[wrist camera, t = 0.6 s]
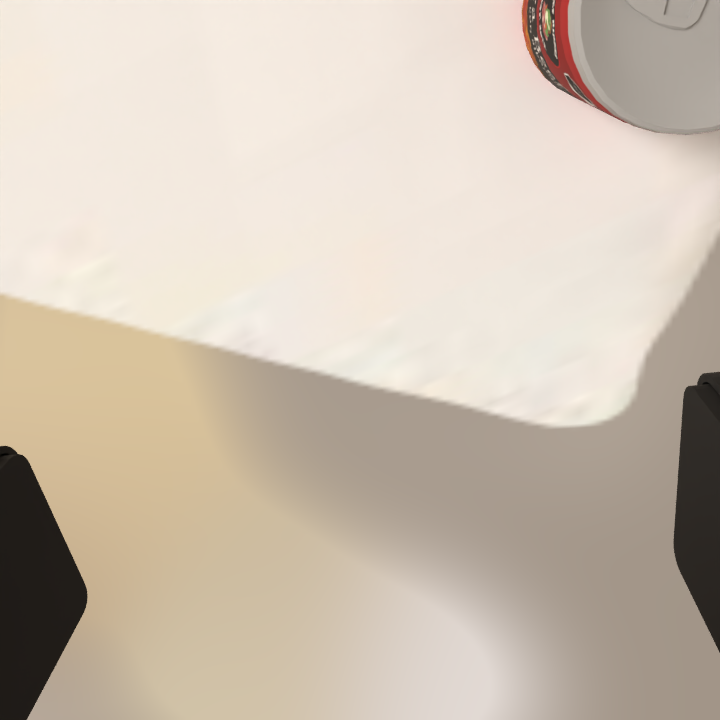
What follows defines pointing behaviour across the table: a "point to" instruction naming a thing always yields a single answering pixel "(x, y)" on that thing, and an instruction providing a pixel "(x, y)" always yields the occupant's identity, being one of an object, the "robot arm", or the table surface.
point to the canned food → (632, 58)
